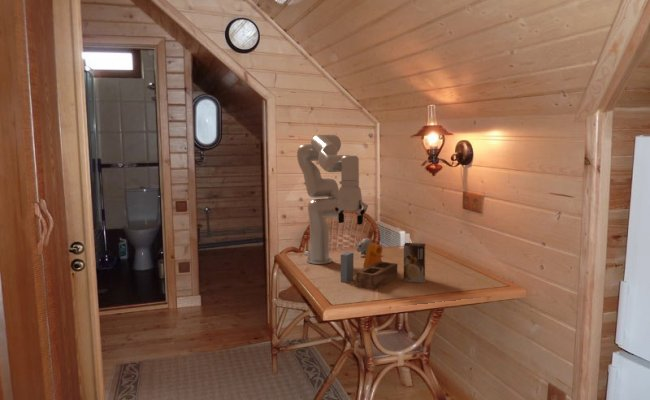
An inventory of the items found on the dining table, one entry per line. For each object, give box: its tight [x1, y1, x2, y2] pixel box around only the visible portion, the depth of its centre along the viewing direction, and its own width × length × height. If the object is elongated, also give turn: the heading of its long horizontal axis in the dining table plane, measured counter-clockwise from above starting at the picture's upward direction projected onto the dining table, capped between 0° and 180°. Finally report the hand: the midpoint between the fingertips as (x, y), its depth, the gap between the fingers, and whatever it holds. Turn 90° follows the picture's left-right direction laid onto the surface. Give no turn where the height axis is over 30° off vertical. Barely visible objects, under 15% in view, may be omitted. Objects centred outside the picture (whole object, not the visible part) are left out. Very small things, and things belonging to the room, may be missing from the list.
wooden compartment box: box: [355, 260, 398, 290], centre depth 218 cm, size 9×22×6 cm, turn 148°
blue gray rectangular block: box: [340, 251, 355, 283], centre depth 219 cm, size 3×6×12 cm, turn 148°
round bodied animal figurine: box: [355, 237, 374, 255], centre depth 267 cm, size 7×12×8 cm, turn 135°
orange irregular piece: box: [363, 242, 384, 269], centre depth 238 cm, size 11×7×12 cm, turn 134°
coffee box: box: [403, 242, 426, 284], centre depth 219 cm, size 9×6×16 cm
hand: (350, 223), depth 219 cm, fingers open, 9 cm apart
